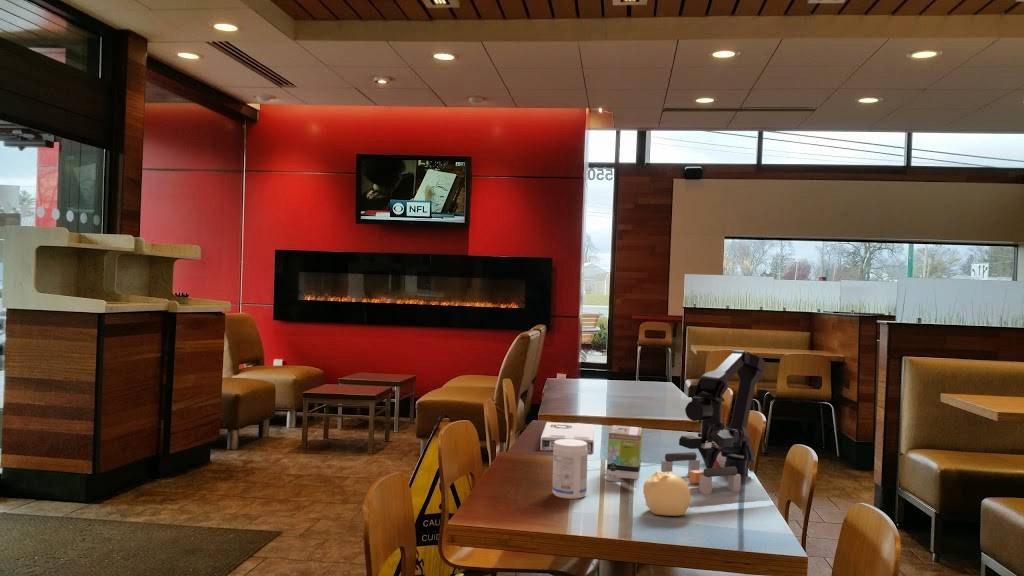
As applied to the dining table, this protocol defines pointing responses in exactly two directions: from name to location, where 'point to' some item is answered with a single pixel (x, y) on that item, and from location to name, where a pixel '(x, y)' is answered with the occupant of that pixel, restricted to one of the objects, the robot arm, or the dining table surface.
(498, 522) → the dining table surface
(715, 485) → the panel
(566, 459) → the supplement tub
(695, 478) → the block
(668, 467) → the grey u-shaped handle
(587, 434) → the flat white box
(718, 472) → the grey bar with posts
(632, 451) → the tea box
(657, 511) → the tan rounded lump
